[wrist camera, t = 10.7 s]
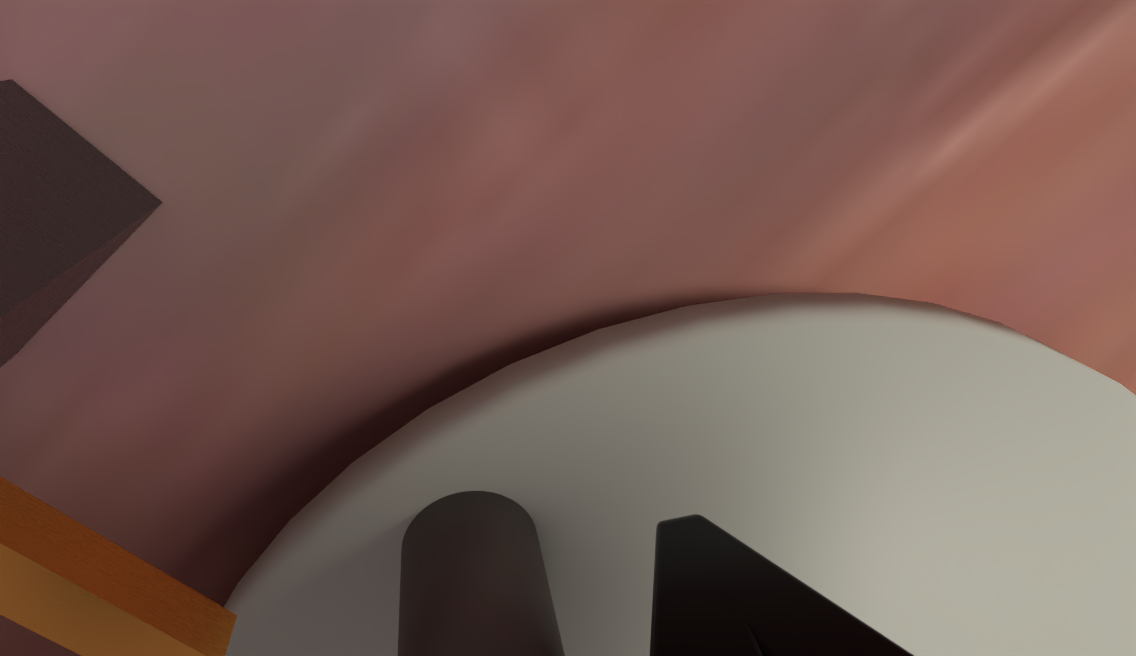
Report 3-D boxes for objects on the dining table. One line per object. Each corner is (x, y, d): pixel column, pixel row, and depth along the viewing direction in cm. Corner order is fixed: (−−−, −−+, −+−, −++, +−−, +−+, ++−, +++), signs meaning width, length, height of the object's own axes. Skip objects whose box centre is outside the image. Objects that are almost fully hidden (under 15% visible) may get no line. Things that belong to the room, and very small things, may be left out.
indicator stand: (356, 360, 11) (309, 615, 6) (216, 492, 11) (72, 823, 6) (12, 79, 9) (-452, 147, 4) (-146, 255, 9) (-734, 499, 4)
